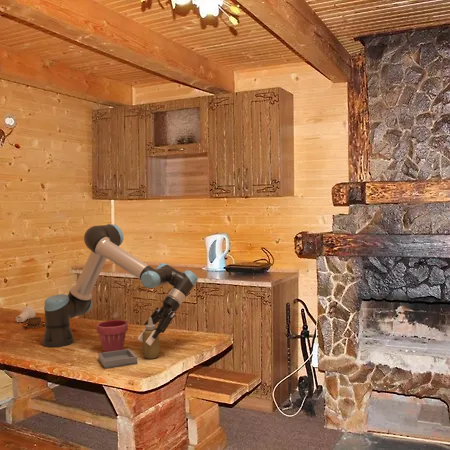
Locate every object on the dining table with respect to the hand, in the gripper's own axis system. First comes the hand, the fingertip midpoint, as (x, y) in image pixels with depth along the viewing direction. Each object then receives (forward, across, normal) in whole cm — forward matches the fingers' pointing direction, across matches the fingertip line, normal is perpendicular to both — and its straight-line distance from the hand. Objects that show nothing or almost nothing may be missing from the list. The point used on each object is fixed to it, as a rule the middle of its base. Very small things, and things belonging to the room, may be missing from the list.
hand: (143, 342), depth 234 cm
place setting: (+16, +94, +3) cm, 96 cm away
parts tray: (+13, +5, +2) cm, 14 cm away
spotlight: (+16, +115, +4) cm, 116 cm away
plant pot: (+8, +23, -3) cm, 24 cm away
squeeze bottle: (+3, 0, -8) cm, 8 cm away
